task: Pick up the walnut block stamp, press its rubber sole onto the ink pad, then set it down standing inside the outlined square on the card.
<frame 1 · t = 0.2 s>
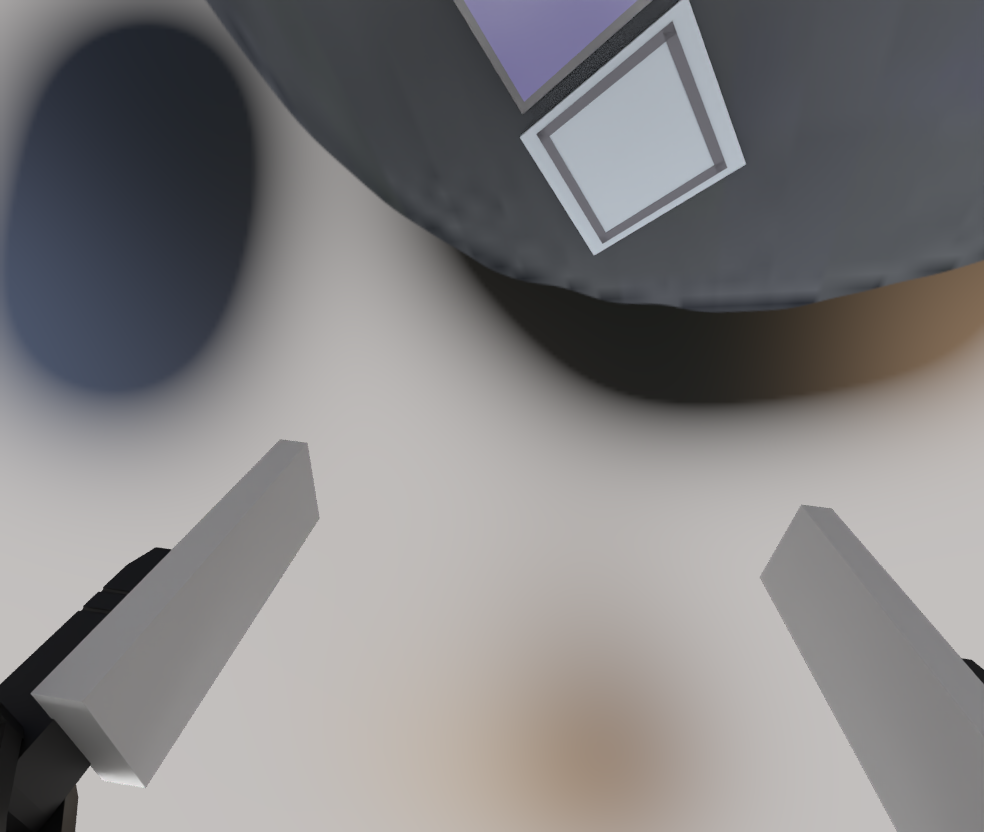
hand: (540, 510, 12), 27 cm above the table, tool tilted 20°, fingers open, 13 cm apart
print card: (631, 148, 29), on the table
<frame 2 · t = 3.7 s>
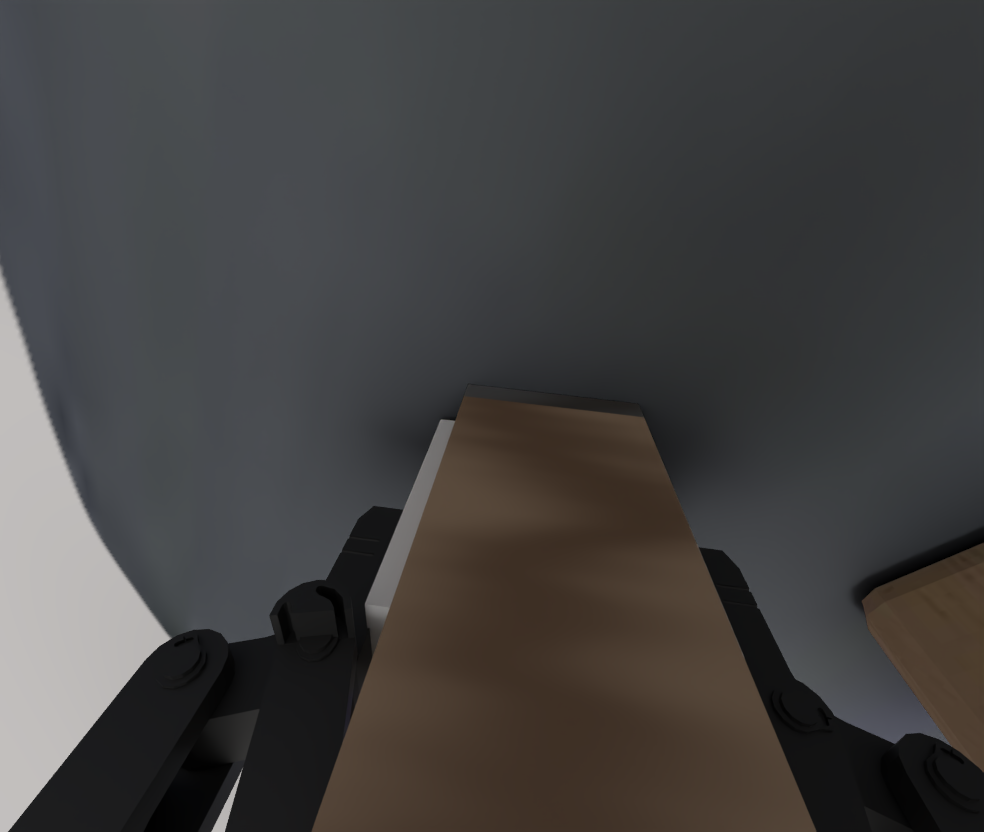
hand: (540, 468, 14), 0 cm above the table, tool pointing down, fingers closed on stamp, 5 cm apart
stamp: (540, 462, 14), on the table, touching gripper
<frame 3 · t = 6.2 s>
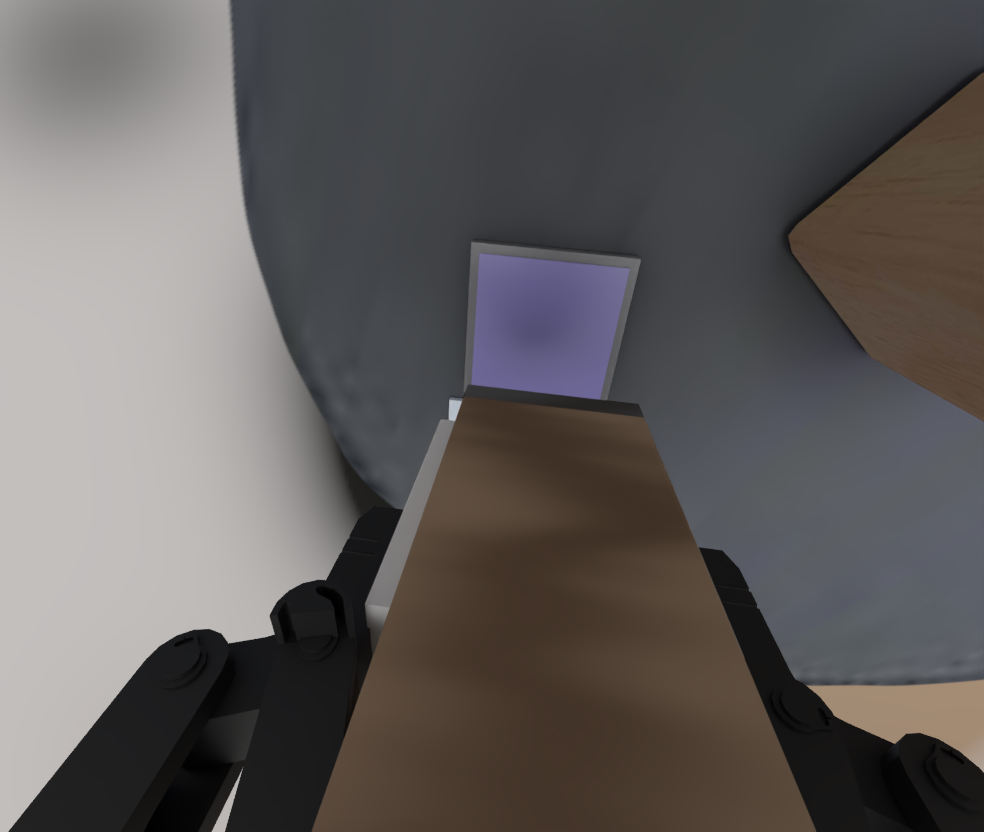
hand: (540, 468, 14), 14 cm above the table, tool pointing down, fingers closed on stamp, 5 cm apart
wooden block: (919, 230, 22), on the table
ink pad: (543, 326, 26), on the table
stamp: (540, 463, 14), point 14 cm above the table, touching gripper
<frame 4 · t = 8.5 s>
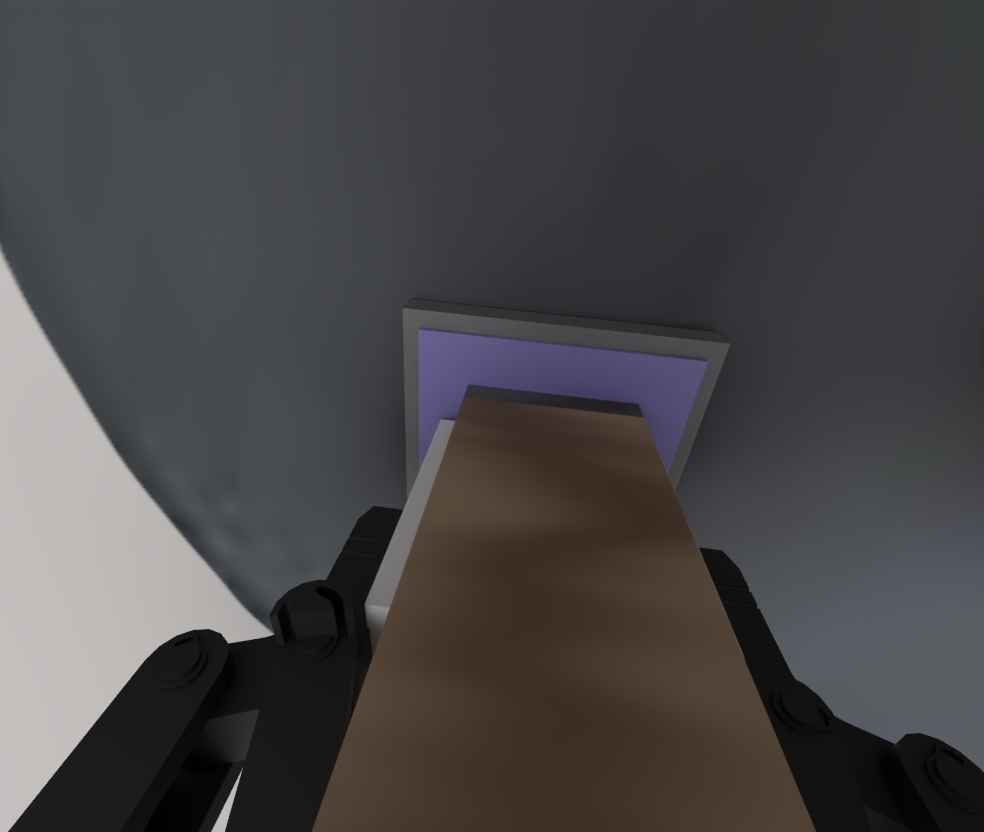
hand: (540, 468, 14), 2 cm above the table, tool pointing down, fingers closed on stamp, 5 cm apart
ink pad: (541, 442, 15), on the table
stamp: (540, 463, 14), point 1 cm above the table, touching gripper, ink pad
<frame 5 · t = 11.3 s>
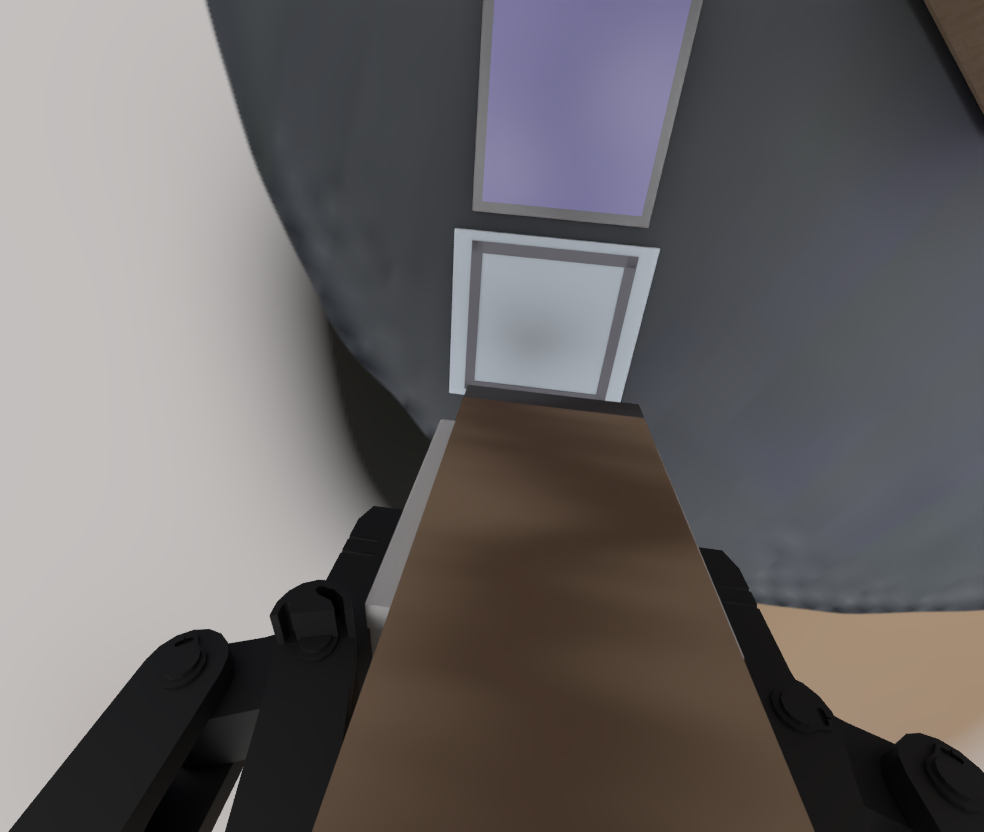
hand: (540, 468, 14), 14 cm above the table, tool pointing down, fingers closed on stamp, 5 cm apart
ink pad: (573, 114, 21), on the table
print card: (543, 326, 26), on the table
stamp: (540, 463, 14), point 14 cm above the table, touching gripper
when the fingers open (2 cm above the table, at t = 13.7 s): stamp stays where it is, resting on print card.
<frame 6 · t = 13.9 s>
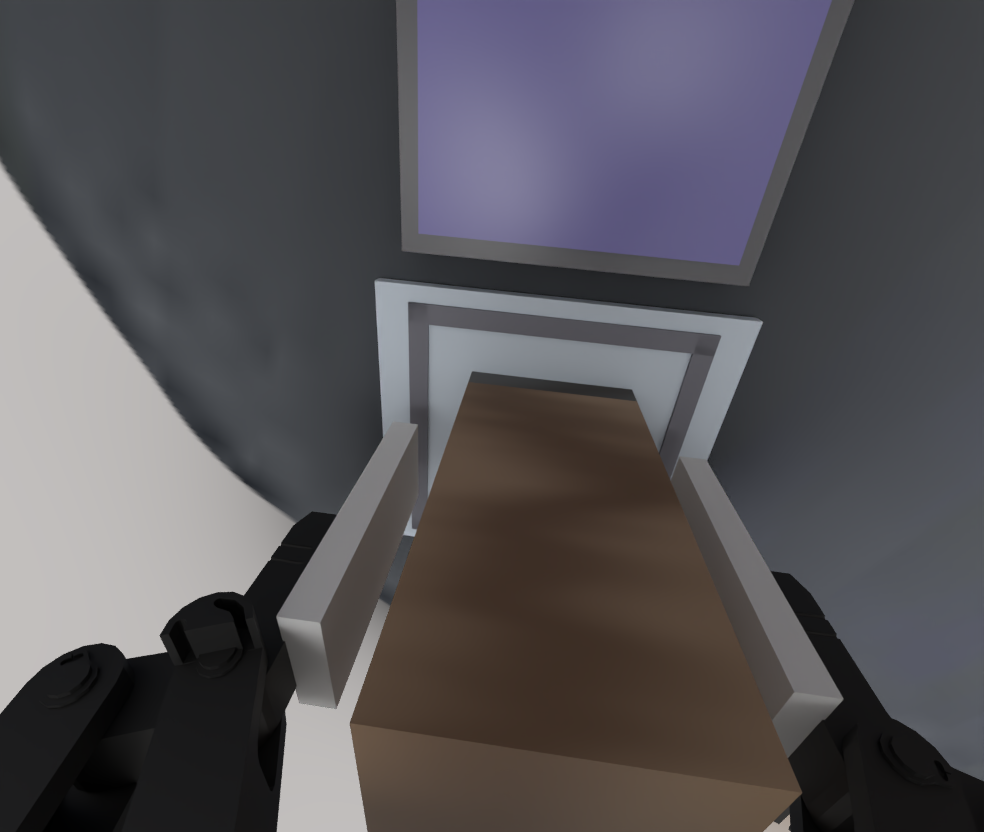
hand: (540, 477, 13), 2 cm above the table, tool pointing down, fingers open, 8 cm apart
ink pad: (603, 55, 10), on the table
print card: (540, 440, 15), on the table
stamp: (540, 446, 15), resting on print card
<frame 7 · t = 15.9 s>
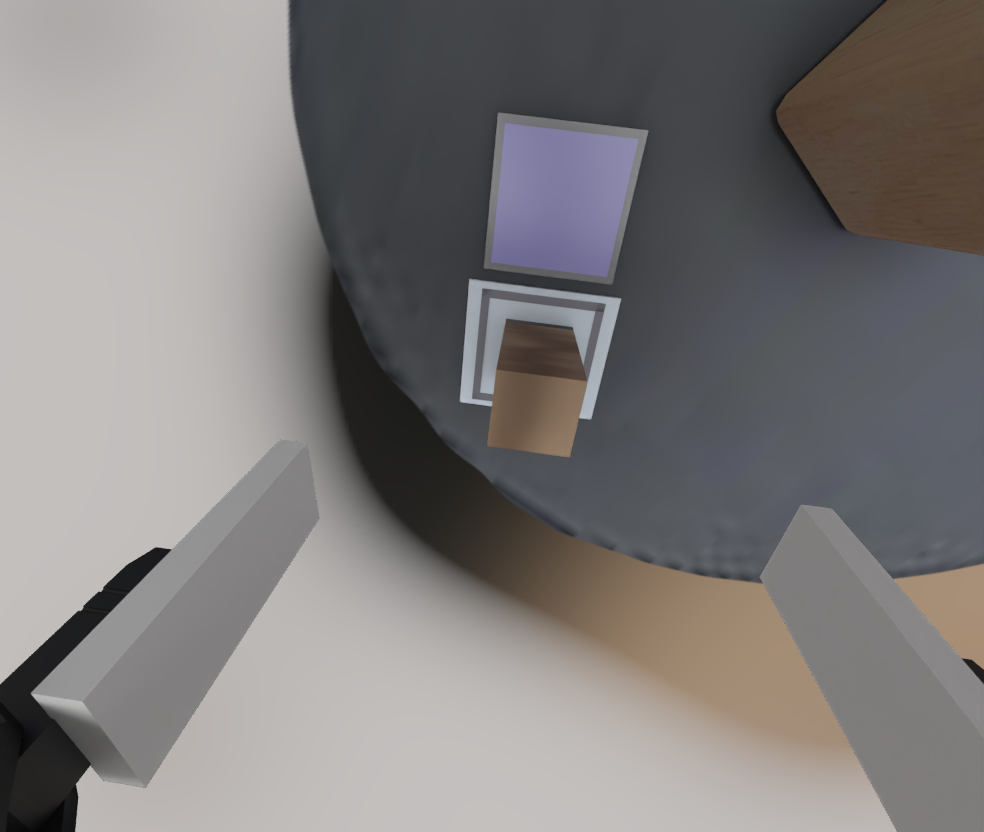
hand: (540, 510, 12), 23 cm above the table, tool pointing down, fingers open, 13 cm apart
wooden block: (887, 108, 25), on the table
ink pad: (558, 204, 29), on the table
print card: (534, 352, 34), on the table
stamp: (534, 354, 33), resting on print card
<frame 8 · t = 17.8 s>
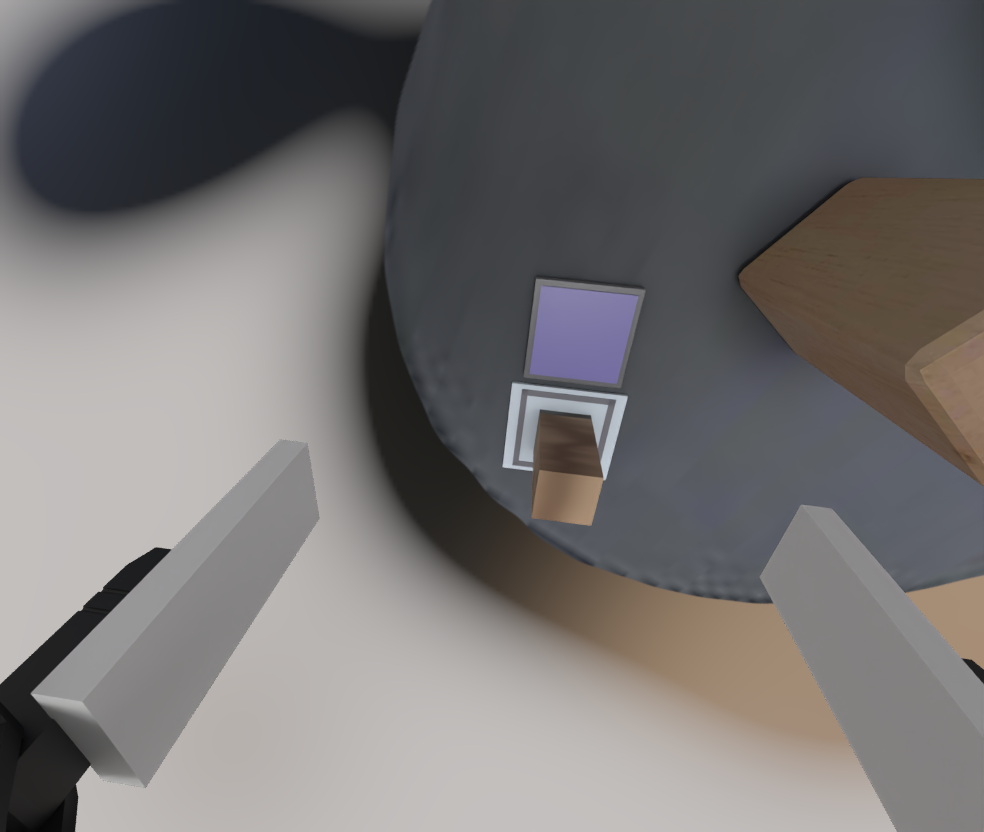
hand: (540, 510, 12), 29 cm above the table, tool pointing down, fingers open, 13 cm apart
wooden block: (820, 272, 34), on the table
ink pad: (579, 332, 39), on the table
print card: (561, 431, 44), on the table
stamp: (561, 433, 43), resting on print card
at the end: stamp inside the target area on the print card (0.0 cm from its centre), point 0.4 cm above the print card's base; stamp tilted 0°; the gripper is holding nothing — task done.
